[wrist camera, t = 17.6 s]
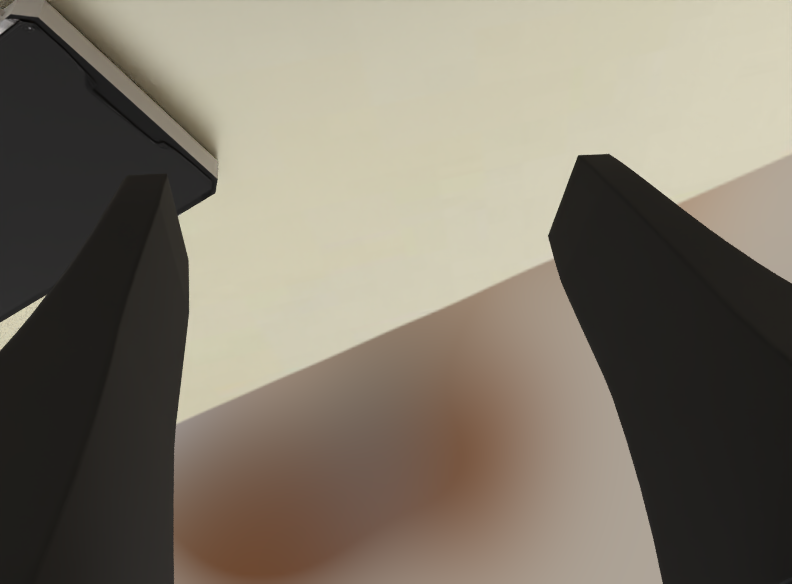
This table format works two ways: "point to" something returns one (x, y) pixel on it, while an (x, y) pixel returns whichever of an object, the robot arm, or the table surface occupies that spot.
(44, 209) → the smartphone
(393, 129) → the table surface
